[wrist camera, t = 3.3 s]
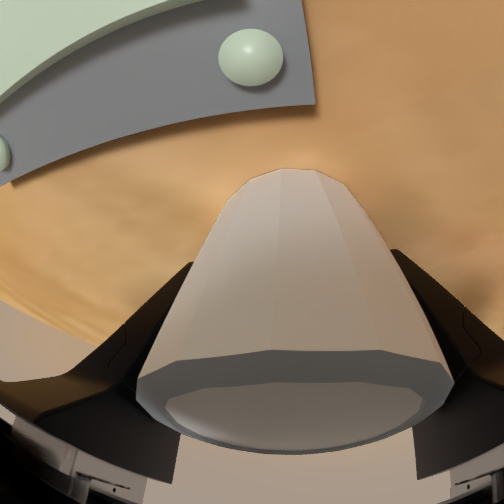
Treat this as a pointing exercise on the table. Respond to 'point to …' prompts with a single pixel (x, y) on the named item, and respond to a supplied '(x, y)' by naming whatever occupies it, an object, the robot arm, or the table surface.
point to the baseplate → (139, 69)
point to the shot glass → (294, 329)
